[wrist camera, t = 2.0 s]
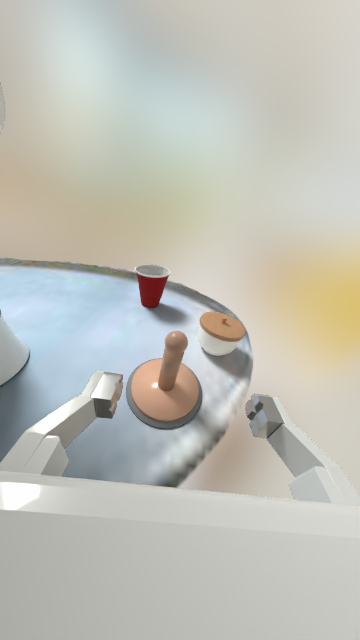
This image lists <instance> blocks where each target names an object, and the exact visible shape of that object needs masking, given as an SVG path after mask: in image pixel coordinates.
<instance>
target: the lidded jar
mask: <svg viewBox="0 0 360 640" xmlns="http://www.w3.org/2000/svg"><path fill="white" fill-rule="evenodd" d="M244 335H245V328H244V327H243V325H242V324H241V323H240V322H239V321H238V320H236V319H235V318H233V317H231V316H229V315H226V314H223V313H219V312H206V313H204V314H203V315H202V316H201V318H200V323H199V326H198V340H199V343H200V345H201V346H202V348H203V350H204V351H205V352H206V353H208V354H210V355H212V356H221V355H226V354H229V353H231V352H232V351H233V350H234V349H235V348H236V347H237V346H238V345H239V343H240V341H241V340H242V338H243V337H244Z"/></svg>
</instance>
